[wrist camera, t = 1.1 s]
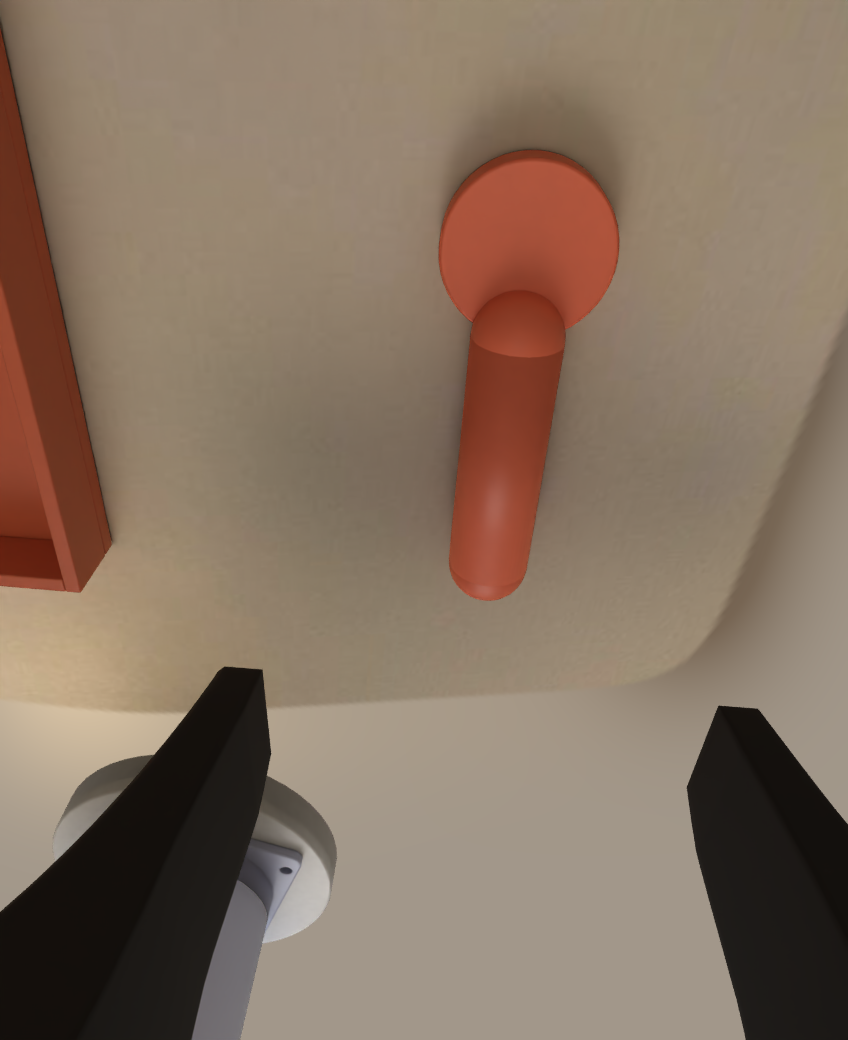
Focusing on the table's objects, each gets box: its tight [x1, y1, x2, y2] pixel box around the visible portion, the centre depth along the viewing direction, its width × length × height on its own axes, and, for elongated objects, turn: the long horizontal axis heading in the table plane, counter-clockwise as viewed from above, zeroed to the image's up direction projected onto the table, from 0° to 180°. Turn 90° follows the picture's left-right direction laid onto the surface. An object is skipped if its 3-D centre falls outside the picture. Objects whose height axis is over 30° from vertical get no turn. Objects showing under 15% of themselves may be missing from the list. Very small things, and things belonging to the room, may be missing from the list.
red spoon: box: [439, 150, 619, 601], centre depth 17 cm, size 10×4×2 cm, turn 177°
